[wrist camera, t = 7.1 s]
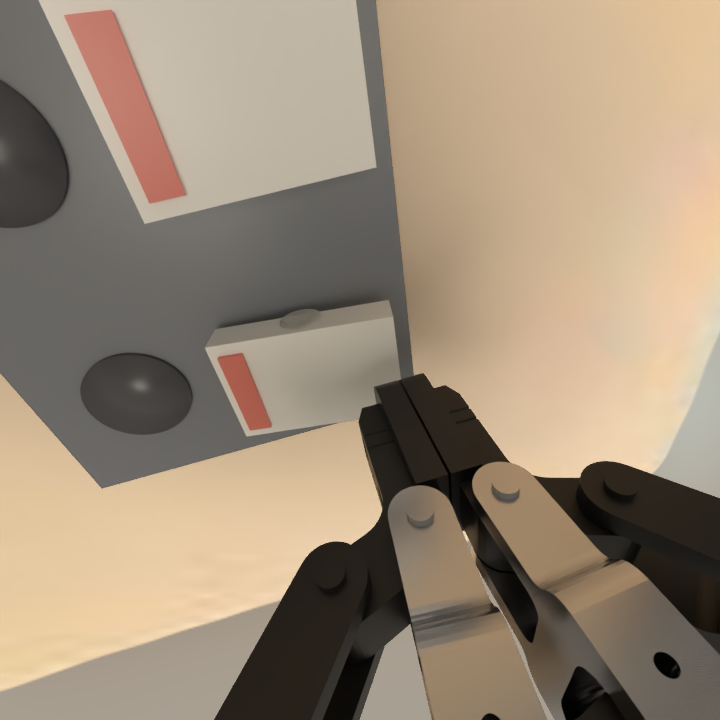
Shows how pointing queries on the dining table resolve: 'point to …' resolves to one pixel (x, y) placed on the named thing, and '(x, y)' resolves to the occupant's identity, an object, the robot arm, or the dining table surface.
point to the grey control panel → (160, 269)
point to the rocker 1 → (220, 94)
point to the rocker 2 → (306, 366)
